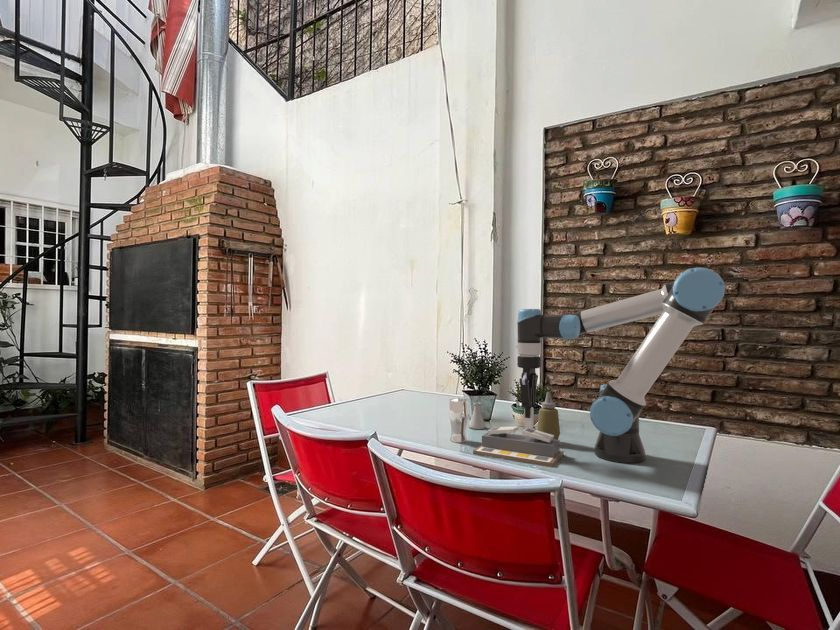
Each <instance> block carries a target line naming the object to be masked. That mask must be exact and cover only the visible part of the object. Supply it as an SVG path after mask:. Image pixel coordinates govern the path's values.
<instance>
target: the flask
mask: <svg viewBox="0 0 840 630" xmlns="http://www.w3.org/2000/svg"><path fill="white" fill-rule="evenodd" d="M481 406H482V402H473V412H472V415H471V418H470V421H469V424H468V428H470V429H472V430H482V429H483V430H484V429H486V428H487V426H486V423H485V419H484V418H483V414H482V410H481Z"/></svg>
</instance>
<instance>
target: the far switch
mask: <svg viewBox="0 0 840 630" xmlns="http://www.w3.org/2000/svg"><path fill="white" fill-rule="evenodd" d="M518 430H519V426H518V425H516V426H514V425H513V426H497V427H492V428H489V429H488V430H487V433H488V434H503V433H511V434H515V432H517V431H518Z"/></svg>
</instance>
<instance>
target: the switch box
mask: <svg viewBox="0 0 840 630" xmlns="http://www.w3.org/2000/svg"><path fill="white" fill-rule="evenodd" d="M560 441H561V440H560V439H558V440H556V439H553V440H552V441H551V442H550V443H549V442H546V441H542V440H539V439H536V438H533V437H530V436H527V435H523V434H519V433H503V434H488V432H486V433H484V434H482V435H481V445H480V446H477V447H476V448H475V449H473V450H472V451H473V453H472V454H473V455H476V454H478V456H482V455H486V456H485V457H488V456H492V457H491V458H495V457H498V458H497V459H501V458H503V459H502V460H507V461H512V462H520V463H525V464H531V463H532V465H538V466H545V467H549V466H550V467H549V468H554V466H555V465H556V464H557V463H558V462H559V461H561V459H562V458H563V456H564V453H565V451H564V450H563V451H562V450H561V449H560V447H561V445H560V444H561V442H560Z"/></svg>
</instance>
